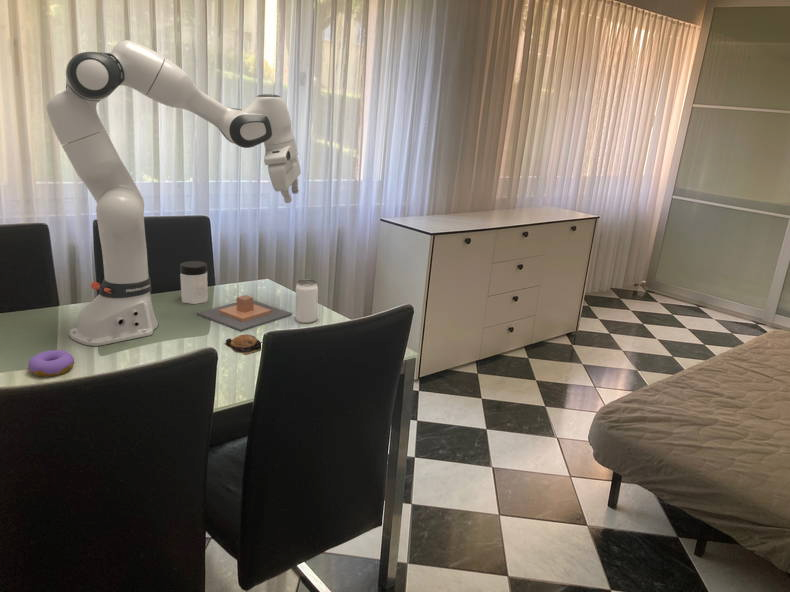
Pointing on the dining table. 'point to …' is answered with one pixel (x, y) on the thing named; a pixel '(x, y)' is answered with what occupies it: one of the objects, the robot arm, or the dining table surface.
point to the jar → (194, 282)
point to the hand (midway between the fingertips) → (292, 197)
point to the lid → (245, 309)
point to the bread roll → (244, 344)
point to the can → (306, 301)
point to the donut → (51, 363)
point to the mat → (242, 326)
